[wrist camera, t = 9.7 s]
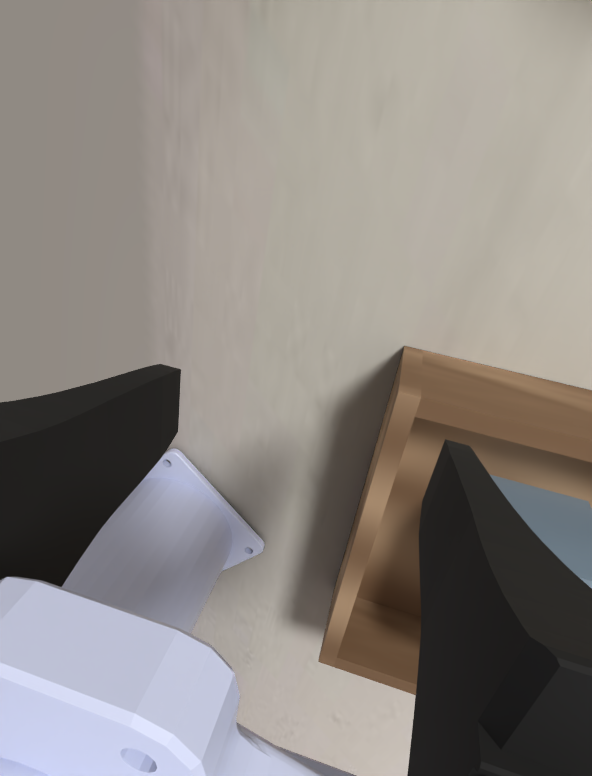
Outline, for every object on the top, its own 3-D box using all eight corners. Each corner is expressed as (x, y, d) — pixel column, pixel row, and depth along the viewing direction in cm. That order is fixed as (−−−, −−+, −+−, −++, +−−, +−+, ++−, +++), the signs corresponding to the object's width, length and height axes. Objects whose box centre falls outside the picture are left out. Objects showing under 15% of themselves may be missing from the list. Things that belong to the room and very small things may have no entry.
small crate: (527, 604, 24) (548, 702, 20) (429, 574, 25) (429, 662, 21) (588, 501, 21) (629, 592, 17) (474, 470, 22) (485, 549, 18)
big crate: (580, 669, 26) (606, 760, 22) (333, 590, 28) (318, 661, 24) (758, 430, 19) (845, 504, 15) (404, 345, 21) (398, 391, 17)
